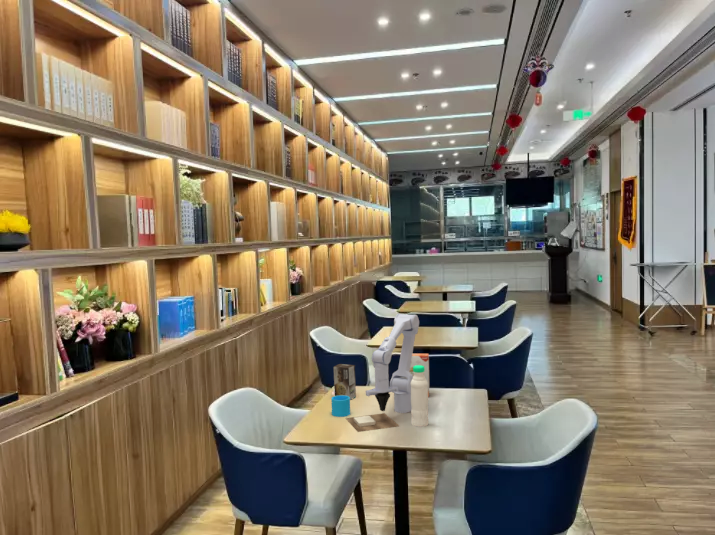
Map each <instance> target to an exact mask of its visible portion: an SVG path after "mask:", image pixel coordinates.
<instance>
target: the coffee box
mask: <svg viewBox="0 0 715 535" xmlns="http://www.w3.org/2000/svg"><path fill="white" fill-rule="evenodd" d="M333 381H334V382H333V385H334V396H340V395H344V396H349V397H350V401H351V400H353V399H355V398H356V397H357V390H356V364H346V363H345V364H344V363H339V364H336V365H334V366H333ZM354 397H355V398H354ZM352 398H353V399H352Z"/></svg>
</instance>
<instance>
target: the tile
mask: <svg viewBox="0 0 715 535" xmlns="http://www.w3.org/2000/svg"><path fill="white" fill-rule="evenodd" d="M361 416H362V417H359V416H353V417H354V422H355V423H356V424H357V425H358V426H359V427H362V426H369V425H375V421H374V420H373V419H372V418H371V417H370V416H367V415H361Z"/></svg>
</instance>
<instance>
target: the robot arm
mask: <svg viewBox="0 0 715 535" xmlns="http://www.w3.org/2000/svg"><path fill="white" fill-rule="evenodd" d="M393 324H394V325H393V327H392V329H391V331H390V333H389V335H388V336H386V337H385V338H384V339H383V341H382V342H381V343H380V345H379V347H378V348H377V349H375V350H374V351H373V352H372V355H371V361H372V365H373V368H374V381H375V382H374V385H375V386H374V388H372V389H368V390H367V389H366V390H365V396H366V397H370V396H375V398H376V401H377V403H378V405H379V410H380V411H381V412H385V411H386V409H387V405H388V401H389V399H390V397H391V394H390V393H393V402H394V404H393V405H394V406H393V407H394V412H396V413H399V414H400V413H401V414H402V413H403V414H405V413H410V412H411V409H412V407H411V381H412V379H413V375H412V374H411V373H410V372H409V371H410V365H411V359H412V353H413V352H414V348H415V347H414V345H415V342H416V341H415V340H416V335H417V334H418V332H419V326H420V320H419V317H418V315H417V314H406V313H405V314H404V313H397V314H396V315H395V317H394V320H393ZM401 334H402V335H403V340H402V345H401V350H400V355H401V356H400V357H399V363H398V367H397V368H398V369H397V370H396V371H394V372H393V373H392V376H391V379H390V381H389V378H390V377H389V364H390V363H391V360H392V355H393V354H392V353H393V351H394V350H395V348H396V346H397V340H398V339H399V337H400V336H401ZM401 377H404V378H401ZM406 378H407V379H406Z"/></svg>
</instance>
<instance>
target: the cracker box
mask: <svg viewBox="0 0 715 535" xmlns="http://www.w3.org/2000/svg"><path fill="white" fill-rule="evenodd" d="M400 356H401V354H400ZM416 365H422V366H424V368H425V371H424V376H425V378H426V380H427V383H428V386H427V389H428V398H429V397H430V357H429V353H412V359H411V365H410V371H409V372H410V373H411V374H412V375H413V376H414V372H413V367H414V366H416ZM400 378H404V377H400ZM406 379H407V378H406Z"/></svg>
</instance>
